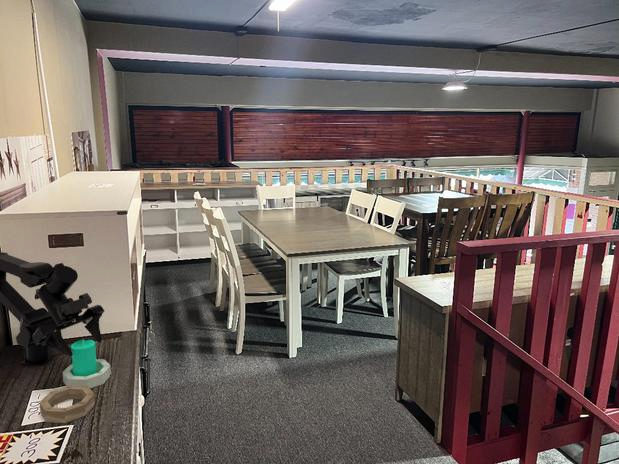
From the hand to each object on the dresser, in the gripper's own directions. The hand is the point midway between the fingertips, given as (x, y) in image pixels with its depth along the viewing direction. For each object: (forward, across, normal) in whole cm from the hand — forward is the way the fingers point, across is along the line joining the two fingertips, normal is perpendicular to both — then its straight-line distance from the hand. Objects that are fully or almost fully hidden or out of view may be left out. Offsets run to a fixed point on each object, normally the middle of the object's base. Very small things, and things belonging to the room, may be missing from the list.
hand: (86, 348), depth 122 cm
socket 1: (+6, 0, +7) cm, 9 cm away
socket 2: (+12, -12, +1) cm, 17 cm away
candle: (+6, 0, +7) cm, 9 cm away
